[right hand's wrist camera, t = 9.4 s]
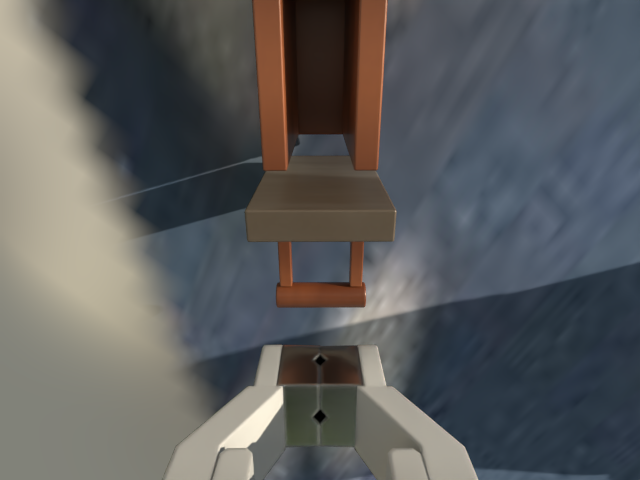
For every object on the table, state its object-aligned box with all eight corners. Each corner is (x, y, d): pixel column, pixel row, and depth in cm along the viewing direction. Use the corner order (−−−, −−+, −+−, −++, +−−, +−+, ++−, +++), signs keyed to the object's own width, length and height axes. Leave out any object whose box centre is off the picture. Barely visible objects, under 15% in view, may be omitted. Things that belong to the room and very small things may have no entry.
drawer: (363, 268, 24) (384, 369, 16) (278, 268, 24) (258, 369, 16) (385, -222, 15) (457, -539, 7) (253, -221, 15) (178, -537, 7)
